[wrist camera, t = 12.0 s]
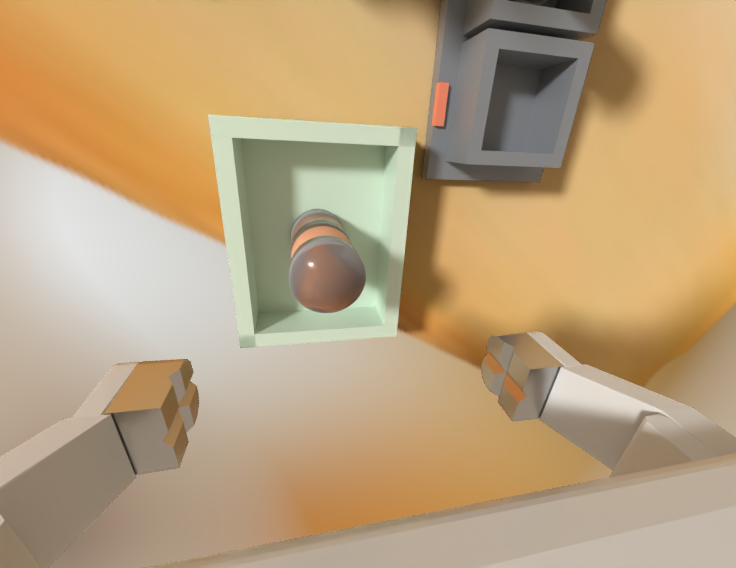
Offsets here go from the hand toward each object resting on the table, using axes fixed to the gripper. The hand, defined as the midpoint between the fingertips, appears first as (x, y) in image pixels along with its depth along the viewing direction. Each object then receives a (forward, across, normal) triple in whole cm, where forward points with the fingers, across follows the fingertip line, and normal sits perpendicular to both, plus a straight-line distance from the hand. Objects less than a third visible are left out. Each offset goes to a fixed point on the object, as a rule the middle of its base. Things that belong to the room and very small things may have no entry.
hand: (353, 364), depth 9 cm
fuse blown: (+15, 0, +1) cm, 15 cm away
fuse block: (+16, -12, -11) cm, 23 cm away
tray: (+16, 0, +1) cm, 16 cm away
